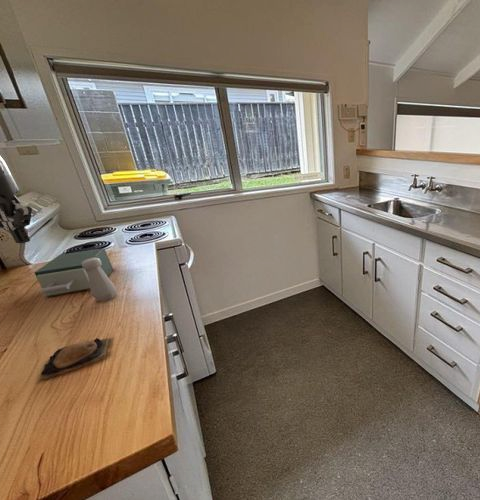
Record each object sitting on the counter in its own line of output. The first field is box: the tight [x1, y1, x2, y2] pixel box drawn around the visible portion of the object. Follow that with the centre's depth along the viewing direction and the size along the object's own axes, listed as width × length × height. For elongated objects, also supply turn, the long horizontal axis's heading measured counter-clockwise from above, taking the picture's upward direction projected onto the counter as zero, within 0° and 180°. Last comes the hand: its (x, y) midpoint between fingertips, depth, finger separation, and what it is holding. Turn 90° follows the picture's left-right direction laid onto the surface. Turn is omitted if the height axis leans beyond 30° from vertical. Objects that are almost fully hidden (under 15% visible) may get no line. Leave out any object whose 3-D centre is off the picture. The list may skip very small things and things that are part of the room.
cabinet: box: [34, 247, 114, 298], centre depth 95 cm, size 15×13×9 cm
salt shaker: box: [81, 258, 117, 302], centre depth 84 cm, size 6×6×13 cm
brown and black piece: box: [40, 337, 109, 381], centre depth 62 cm, size 11×8×4 cm
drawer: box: [35, 268, 90, 297], centre depth 91 cm, size 19×12×7 cm, turn 21°
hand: (23, 242), depth 74 cm, fingers closed
